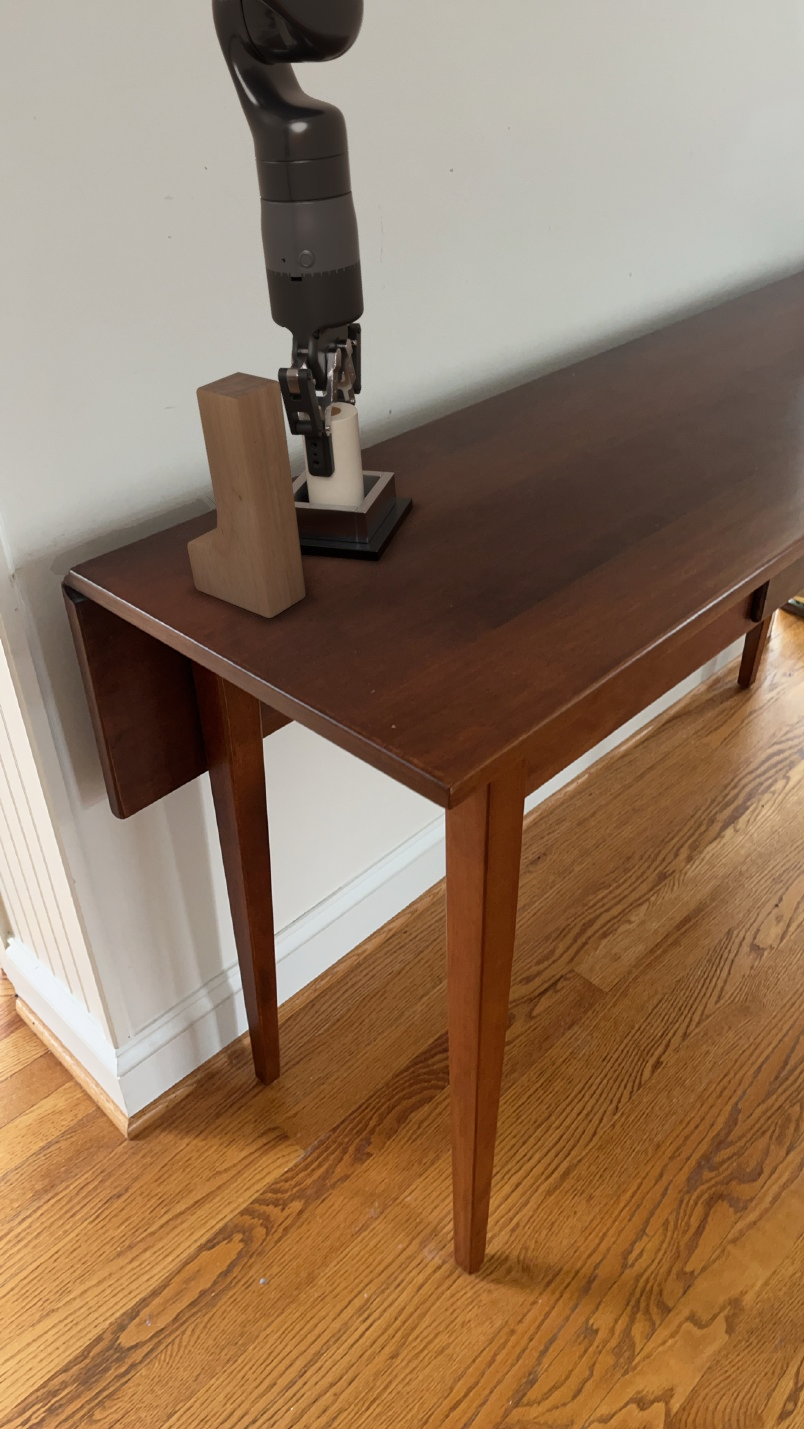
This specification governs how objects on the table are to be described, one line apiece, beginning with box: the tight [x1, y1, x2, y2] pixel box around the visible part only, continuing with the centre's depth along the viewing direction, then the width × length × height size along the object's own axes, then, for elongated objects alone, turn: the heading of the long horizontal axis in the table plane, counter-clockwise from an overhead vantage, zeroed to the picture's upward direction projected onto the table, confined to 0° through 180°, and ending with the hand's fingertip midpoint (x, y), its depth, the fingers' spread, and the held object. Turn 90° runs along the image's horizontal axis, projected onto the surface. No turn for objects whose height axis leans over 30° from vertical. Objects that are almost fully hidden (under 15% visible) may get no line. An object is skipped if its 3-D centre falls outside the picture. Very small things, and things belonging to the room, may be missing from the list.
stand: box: [292, 468, 413, 562], centre depth 93 cm, size 11×11×4 cm
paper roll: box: [301, 402, 365, 507], centre depth 91 cm, size 5×5×10 cm
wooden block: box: [186, 371, 307, 619], centre depth 80 cm, size 9×4×18 cm, turn 52°
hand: (332, 461), depth 90 cm, fingers closed on paper roll, 5 cm apart
